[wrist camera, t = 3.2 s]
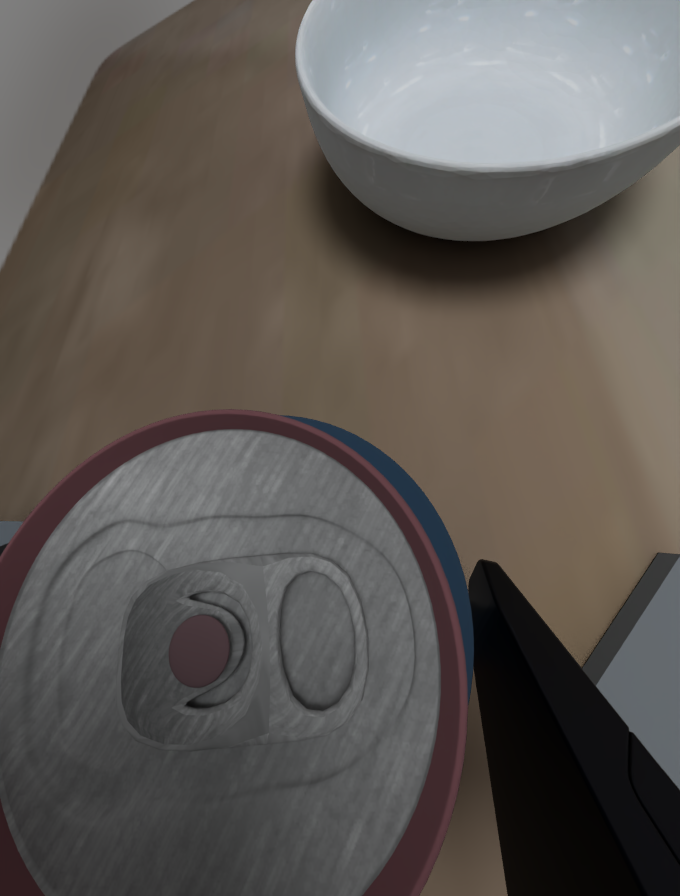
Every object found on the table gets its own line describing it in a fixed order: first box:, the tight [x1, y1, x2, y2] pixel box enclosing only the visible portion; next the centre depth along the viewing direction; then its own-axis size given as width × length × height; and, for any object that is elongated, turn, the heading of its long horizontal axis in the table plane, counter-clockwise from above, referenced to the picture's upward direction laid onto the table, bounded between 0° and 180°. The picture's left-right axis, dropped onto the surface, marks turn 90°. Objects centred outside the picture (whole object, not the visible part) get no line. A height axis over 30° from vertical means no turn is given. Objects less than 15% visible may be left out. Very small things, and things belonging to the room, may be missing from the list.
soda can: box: [0, 409, 474, 896], centre depth 9 cm, size 7×7×12 cm
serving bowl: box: [295, 0, 680, 241], centre depth 17 cm, size 21×21×7 cm
